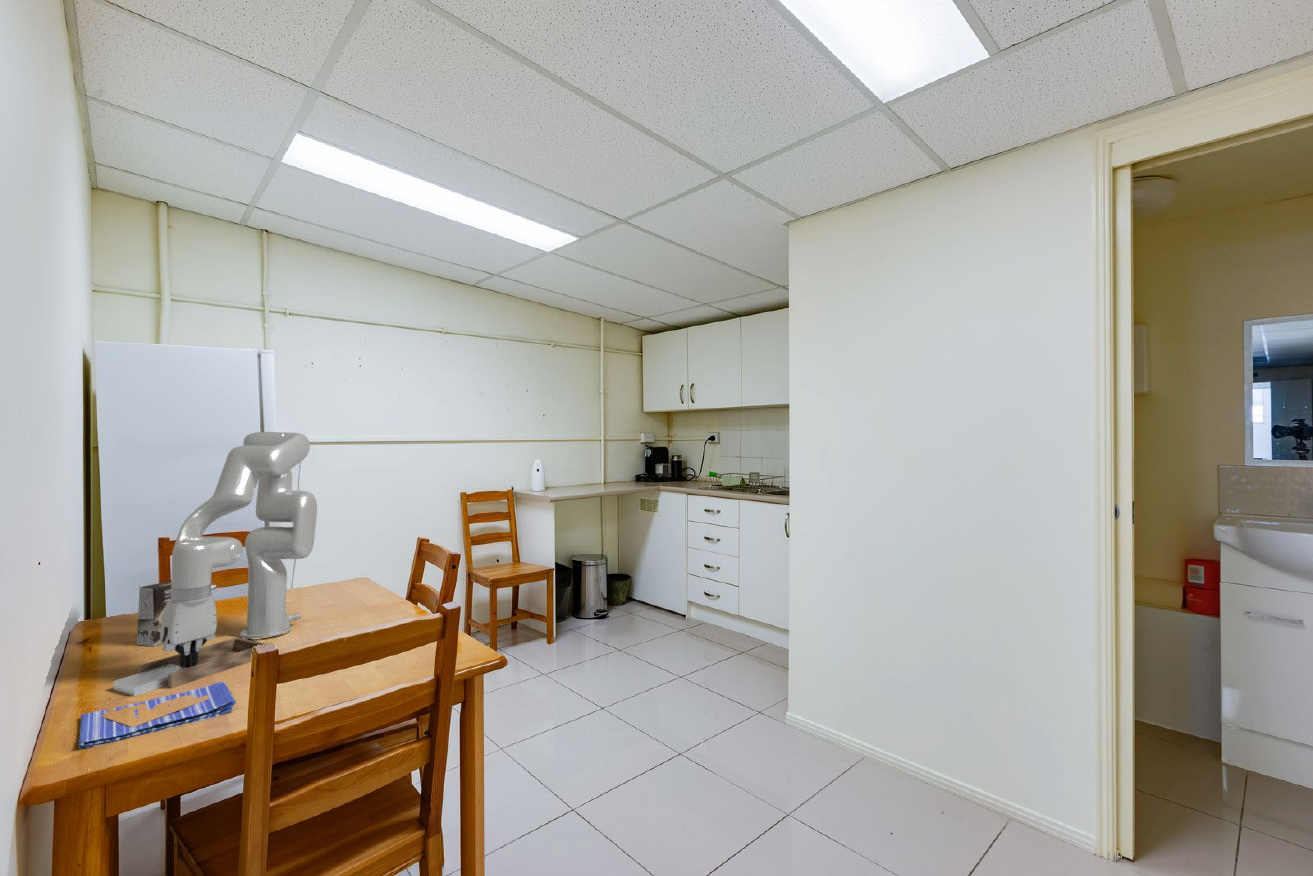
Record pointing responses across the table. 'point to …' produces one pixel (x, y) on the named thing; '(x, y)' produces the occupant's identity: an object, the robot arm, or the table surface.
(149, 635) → the cookie box
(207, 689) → the dish towel
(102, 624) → the table surface
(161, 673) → the cover plate
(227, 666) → the walnut box
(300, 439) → the robot arm
